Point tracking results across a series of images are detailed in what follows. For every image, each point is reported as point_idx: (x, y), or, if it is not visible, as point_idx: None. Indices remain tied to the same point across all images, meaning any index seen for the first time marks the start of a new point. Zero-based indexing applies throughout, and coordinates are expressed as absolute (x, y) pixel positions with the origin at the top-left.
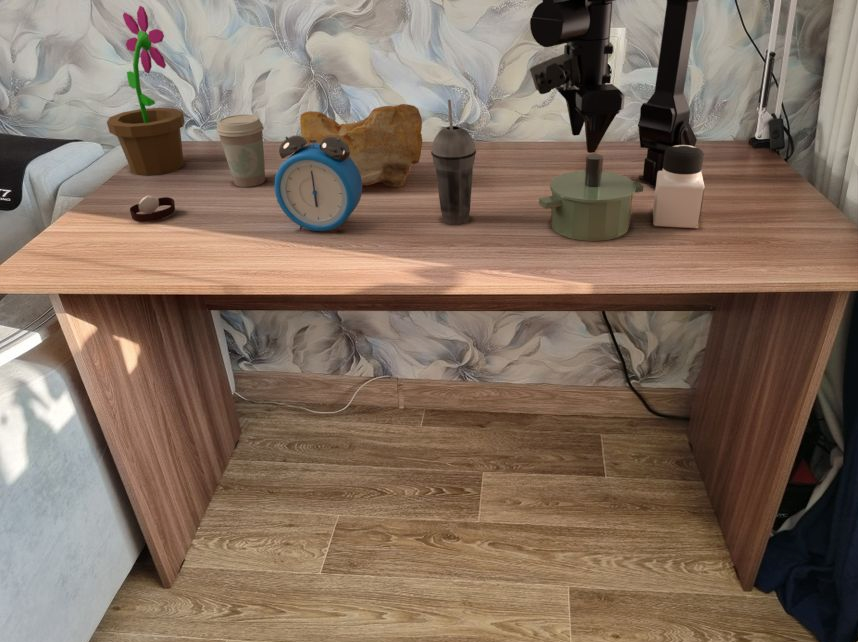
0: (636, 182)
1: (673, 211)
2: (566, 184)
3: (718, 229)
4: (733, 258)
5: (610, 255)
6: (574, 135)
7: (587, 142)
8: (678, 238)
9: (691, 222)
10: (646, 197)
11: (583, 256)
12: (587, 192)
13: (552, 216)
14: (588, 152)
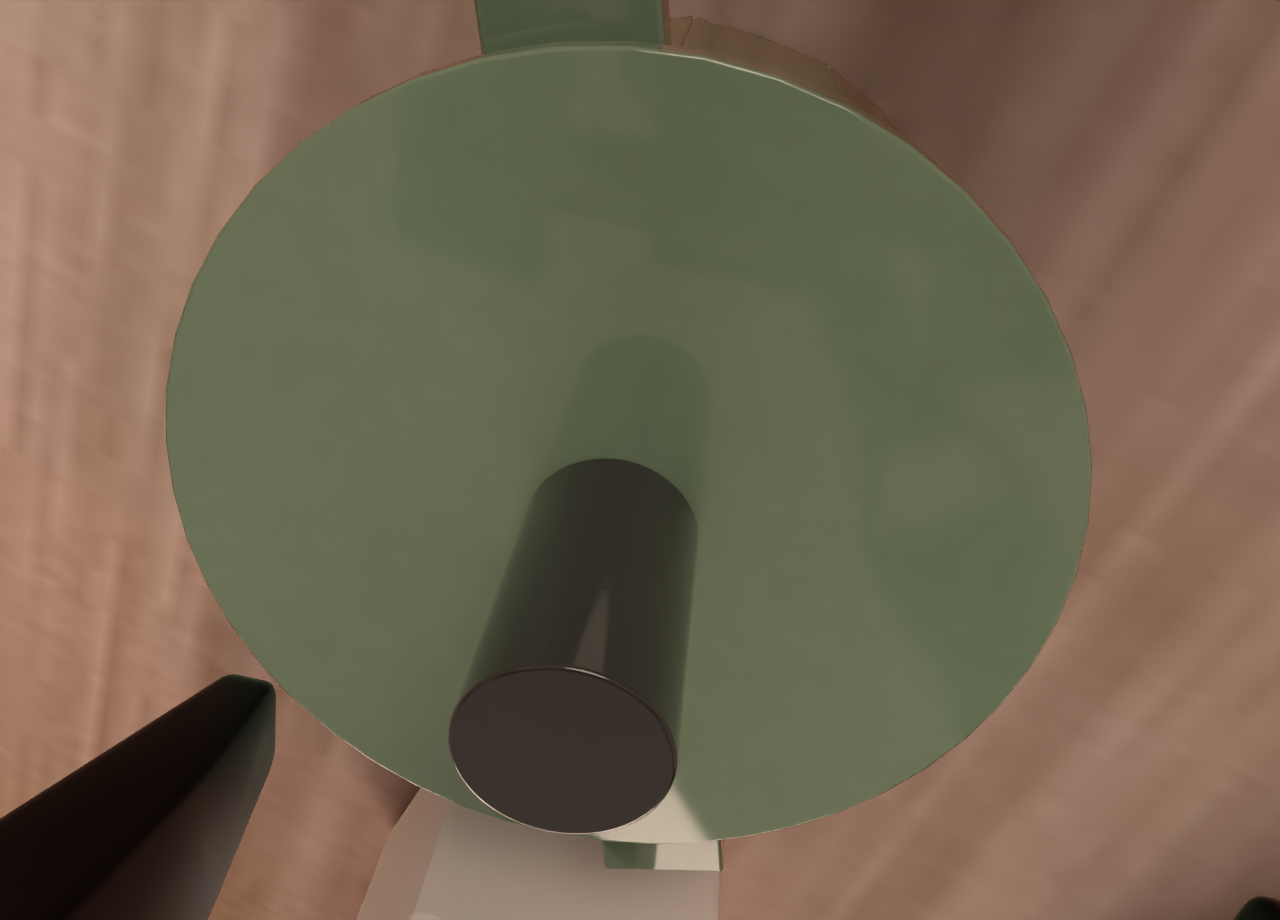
0: (687, 863)
1: (415, 827)
2: (721, 287)
3: (364, 896)
4: (12, 772)
5: (102, 226)
6: (1247, 904)
7: (68, 781)
8: (294, 700)
9: (391, 840)
10: (942, 865)
11: (103, 20)
12: (399, 380)
13: (721, 38)
14: (232, 676)
